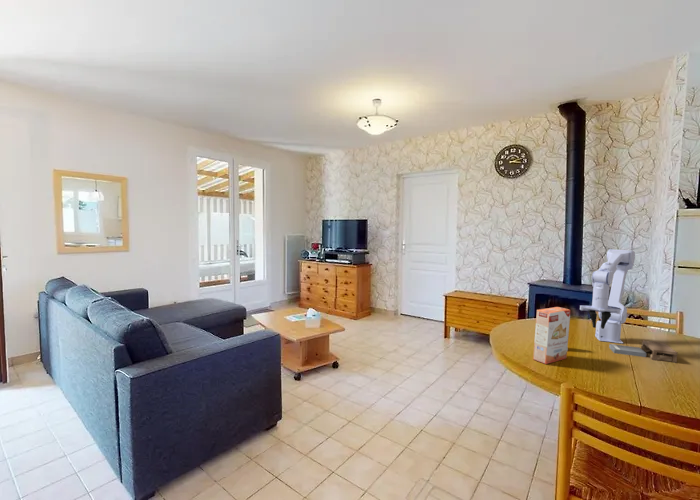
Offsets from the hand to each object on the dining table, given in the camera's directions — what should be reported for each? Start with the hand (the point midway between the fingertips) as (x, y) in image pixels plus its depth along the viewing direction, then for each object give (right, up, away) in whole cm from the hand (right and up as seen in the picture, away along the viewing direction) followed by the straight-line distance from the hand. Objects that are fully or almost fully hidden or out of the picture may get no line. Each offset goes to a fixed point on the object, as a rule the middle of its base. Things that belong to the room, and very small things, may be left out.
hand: (598, 327), depth 153 cm
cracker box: (-29, -10, -13) cm, 33 cm away
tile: (+10, -10, -4) cm, 15 cm away
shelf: (+20, -10, -8) cm, 24 cm away
